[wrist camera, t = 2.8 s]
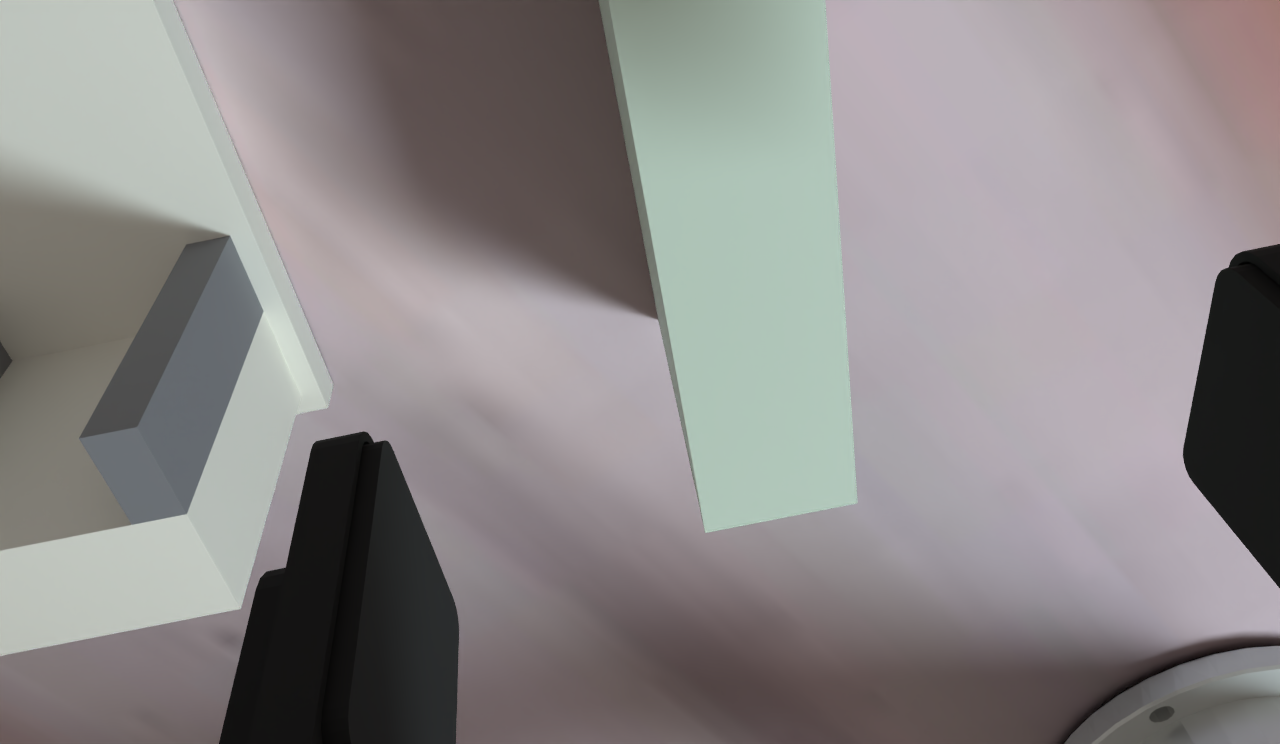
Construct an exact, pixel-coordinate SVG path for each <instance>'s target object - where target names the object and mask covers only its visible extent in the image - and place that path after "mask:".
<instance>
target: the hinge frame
mask: <svg viewBox="0 0 1280 744" xmlns="http://www.w3.org/2000/svg"><path fill="white" fill-rule="evenodd" d="M333 386H334V385H333V382H332V380H331V378H330V375H329V373H328V370H327V368H326V366H325V363H324V361H323V358H322V356H321V354H320V351H319V349H318V346H317V344H316V342H315V339H314V337H313V335H312V332H311V330H310V327H309V325H308V323H307V320H306V318H305V315H304V313H303V311H302V308H301V306H300V303H299V301H298V299H297V296H296V294H295V291H294V289H293V287H292V284H291V282H290V280H289V277H288V275H287V272H286V270H285V268H284V265H283V263H282V260H281V258H280V256H279V253H278V251H277V248H276V246H275V244H274V241H273V239H272V237H271V234H270V232H269V229H268V227H267V225H266V222H265V220H264V217H263V215H262V213H261V210H260V208H259V205H258V203H257V201H256V198H255V196H254V193H253V191H252V189H251V186H250V184H249V182H248V179H247V177H246V174H245V172H244V170H243V167H242V165H241V162H240V160H239V158H238V155H237V153H236V150H235V148H234V146H233V143H232V141H231V139H230V136H229V134H228V131H227V129H226V127H225V124H224V122H223V119H222V117H221V115H220V112H219V110H218V107H217V105H216V103H215V100H214V98H213V95H212V93H211V91H210V88H209V86H208V84H207V81H206V79H205V76H204V74H203V72H202V69H201V67H200V64H199V62H198V60H197V57H196V55H195V52H194V50H193V48H192V45H191V43H190V41H189V38H188V36H187V33H186V31H185V29H184V26H183V24H182V21H181V19H180V17H179V14H178V12H177V9H176V7H175V5H174V2H173V0H0V656H2V655H8V654H13V653H18V652H23V651H28V650H33V649H38V648H43V647H49V646H54V645H59V644H64V643H69V642H74V641H79V640H84V639H90V638H95V637H100V636H105V635H110V634H115V633H120V632H125V631H131V630H136V629H141V628H146V627H151V626H156V625H161V624H166V623H172V622H177V621H182V620H187V619H192V618H197V617H202V616H207V615H213V614H218V613H223V612H228V611H233V610H238V609H241V607H242V603H243V600H244V596H245V593H246V589H247V586H248V582H249V579H250V575H251V572H252V568H253V565H254V561H255V557H256V554H257V550H258V547H259V543H260V540H261V536H262V533H263V529H264V526H265V522H266V519H267V515H268V512H269V508H270V505H271V501H272V498H273V494H274V491H275V487H276V484H277V480H278V477H279V473H280V470H281V466H282V462H283V459H284V455H285V452H286V448H287V445H288V441H289V438H290V434H291V431H292V427H293V424H294V420H295V417H296V414H301V413H306V412H311V411H316V410H321V409H326V408H328V406H329V402H330V398H331V394H332V390H333Z"/></svg>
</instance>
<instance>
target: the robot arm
mask: <svg viewBox="0 0 1280 744" xmlns="http://www.w3.org/2000/svg"><path fill="white" fill-rule="evenodd" d="M1183 458H1184V464H1185V467H1186V470H1187V472H1188V475H1189V477H1190V478H1191V480H1192V481H1193V483H1194V484H1195V485H1196V486H1197V488H1198V489H1199V490H1200V491H1201V493H1202V494H1203V495H1204V496H1205V497H1206V499H1207V500H1208V501H1209V502H1210V504H1211V505H1212V506H1213V507H1214V509H1215V510H1216V511H1217V512H1218V513H1219V515H1220V516H1221V517H1222V518H1223V520H1224V521H1225V522H1226V523H1227V524H1228V526H1229V527H1230V528H1231V529H1232V531H1233V532H1234V533H1235V534H1236V535H1237V537H1238V538H1239V539H1240V540H1241V542H1242V543H1243V544H1244V545H1245V546H1246V548H1247V549H1248V550H1249V551H1250V553H1251V554H1252V555H1253V556H1254V557H1255V559H1256V560H1257V561H1258V562H1259V564H1260V565H1261V566H1262V567H1263V568H1264V570H1265V571H1266V572H1267V573H1268V575H1269V576H1270V577H1271V578H1272V579H1273V581H1274V582H1275V583H1276V584H1277V586H1278V587H1279V588H1280V244H1277V245H1272V246H1268V247H1263V248H1258V249H1253V250H1248V251H1243V252H1240V253H1238V254H1236V255H1235V256H1234V258H1233V259H1232V260H1231V262H1230V265H1229V268H1226V269H1224V270H1221V272H1220V273H1219V274H1218V276H1217V279H1216V282H1215V287H1214V293H1213V298H1212V303H1211V308H1210V313H1209V318H1208V324H1207V329H1206V334H1205V339H1204V344H1203V350H1202V355H1201V360H1200V365H1199V370H1198V375H1197V381H1196V386H1195V391H1194V396H1193V401H1192V407H1191V412H1190V417H1189V422H1188V427H1187V432H1186V438H1185V443H1184V448H1183ZM458 645H459V624H458V616H457V610H456V606H455V602H454V599H453V596H452V594H451V592H450V589H449V587H448V584H447V582H446V579H445V577H444V574H443V572H442V569H441V567H440V564H439V562H438V560H437V557H436V555H435V552H434V550H433V547H432V545H431V542H430V540H429V537H428V535H427V532H426V530H425V528H424V525H423V523H422V520H421V518H420V515H419V513H418V510H417V508H416V505H415V503H414V500H413V498H412V496H411V493H410V491H409V488H408V486H407V483H406V481H405V478H404V476H403V473H402V471H401V468H400V466H399V463H398V461H397V459H396V456H395V454H394V451H393V449H392V447H391V445H390V444H389V442H388V441H380V442H375V443H374V442H373V440H372V438H371V436H370V435H369V434H368V433H367V432H359V433H355V434H350V435H345V436H340V437H335V438H330V439H325V440H320V441H316V442H315V443H314V444H313V446H312V449H311V453H310V457H309V462H308V467H307V471H306V476H305V481H304V485H303V490H302V495H301V499H300V504H299V509H298V513H297V518H296V523H295V527H294V532H293V537H292V541H291V546H290V551H289V555H288V560H287V565H286V568H282V569H278V570H273V571H268V572H266V573H265V574H264V575H263V576H262V577H261V578H260V580H259V583H258V586H257V588H256V592H255V596H254V600H253V604H252V608H251V612H250V617H249V621H248V625H247V629H246V633H245V637H244V642H243V646H242V650H241V654H240V658H239V662H238V667H237V671H236V675H235V679H234V683H233V687H232V692H231V696H230V700H229V704H228V708H227V712H226V717H225V721H224V725H223V729H222V733H221V737H220V742H219V744H456V714H457V679H458ZM1064 744H1280V646H1264V647H1250V648H1242V649H1237V650H1232V651H1227V652H1222V653H1216V654H1212V655H1209V656H1205V657H1202V658H1199V659H1196V660H1193V661H1189V662H1186V663H1183V664H1180V665H1177V666H1175V667H1173V668H1170V669H1168V670H1166V671H1163V672H1161V673H1159V674H1156V675H1154V676H1152V677H1149V678H1147V679H1145V680H1144V681H1142V682H1140V683H1138V684H1137V685H1135V686H1133V687H1131V688H1130V689H1128V690H1126V691H1124V692H1122V693H1121V694H1119V695H1117V696H1116V697H1115V698H1113V699H1112V700H1111V701H1109V702H1108V703H1106V704H1105V705H1104V706H1102V707H1101V708H1100V709H1098V710H1097V711H1095V712H1094V713H1093V714H1092V715H1091V716H1090V717H1089V718H1087V719H1086V720H1085V721H1084V722H1083V723H1082V724H1081V725H1080V726H1079V727H1078V728H1077V729H1076V730H1075V731H1074V732H1073V733H1072V734H1071V735H1070V737H1069V738H1068V739H1067V741H1066V742H1065V743H1064Z"/></svg>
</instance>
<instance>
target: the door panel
mask: <svg viewBox="0 0 1280 744" xmlns="http://www.w3.org/2000/svg"><path fill="white" fill-rule="evenodd" d="M598 1H599V6H600V11H601V17H602V22H603V27H604V33H605V38H606V43H607V49H608V54H609V59H610V65H611V70H612V75H613V81H614V86H615V91H616V97H617V102H618V107H619V113H620V118H621V123H622V129H623V134H624V139H625V145H626V150H627V155H628V161H629V166H630V171H631V177H632V182H633V187H634V193H635V198H636V204H637V209H638V214H639V220H640V225H641V230H642V236H643V241H644V246H645V252H646V257H647V262H648V268H649V273H650V278H651V284H652V289H653V294H654V300H655V305H656V310H657V316H658V321H659V325H660V330H661V334H662V339H663V344H664V348H665V353H666V357H667V362H668V366H669V371H670V375H671V380H672V384H673V389H674V393H675V398H676V403H677V407H678V412H679V416H680V421H681V425H682V430H683V434H684V439H685V443H686V448H687V452H688V457H689V461H690V466H691V471H692V475H693V480H694V484H695V489H696V493H697V498H698V502H699V507H700V511H701V516H702V520H703V525H704V530H705V533H708V532H713V531H718V530H723V529H729V528H734V527H739V526H744V525H749V524H754V523H759V522H764V521H770V520H775V519H780V518H785V517H790V516H795V515H800V514H805V513H811V512H816V511H821V510H826V509H831V508H836V507H841V506H846V505H852V504H857V489H856V473H855V458H854V442H853V426H852V411H851V395H850V380H849V364H848V349H847V333H846V317H845V302H844V286H843V271H842V255H841V239H840V224H839V208H838V193H837V177H836V161H835V146H834V130H833V115H832V99H831V84H830V68H829V52H828V37H827V21H826V6H825V0H598Z"/></svg>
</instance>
